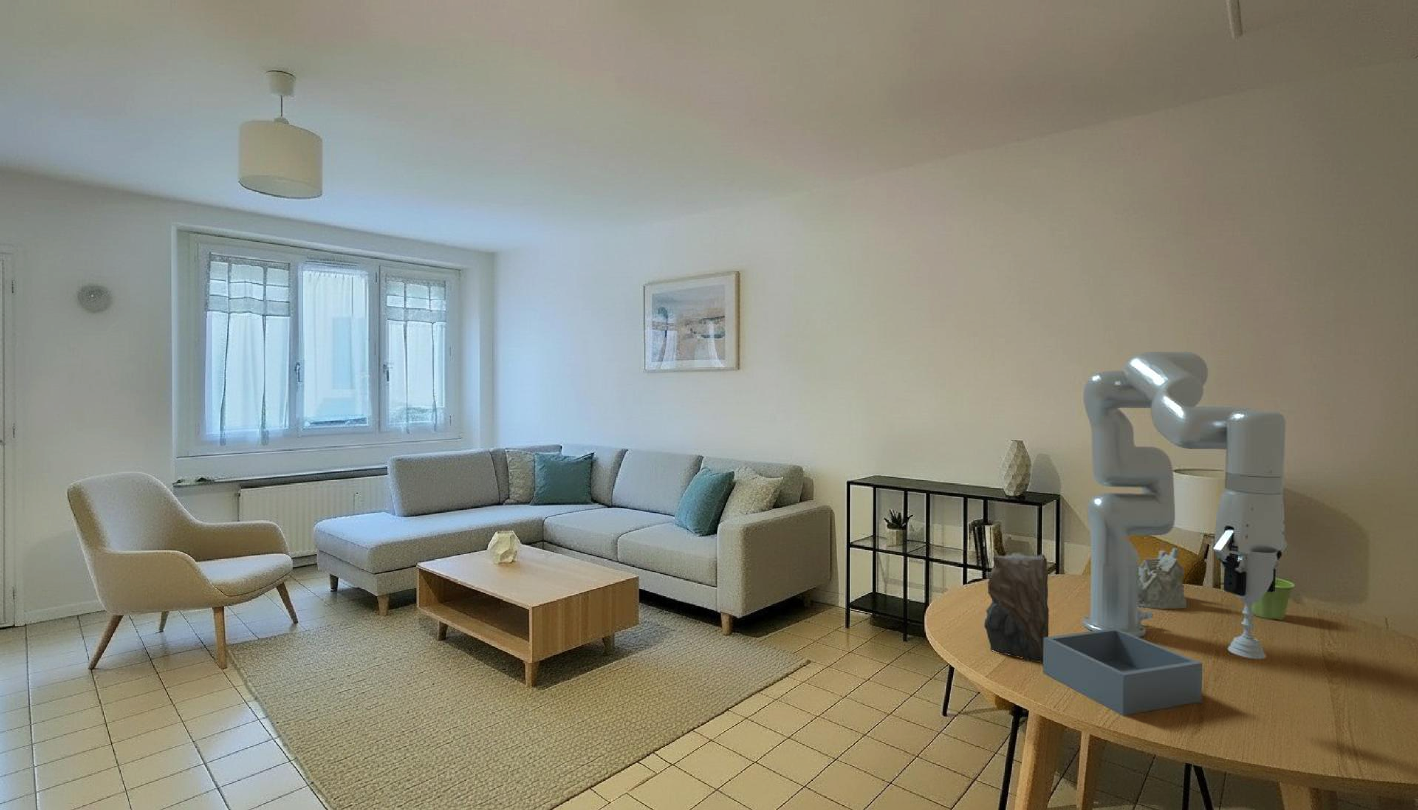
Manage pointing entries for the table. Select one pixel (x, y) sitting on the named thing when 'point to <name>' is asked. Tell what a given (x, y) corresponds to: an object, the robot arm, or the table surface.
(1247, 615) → the chalice
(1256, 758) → the table surface
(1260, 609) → the plant pot
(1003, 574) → the grey faceted rock
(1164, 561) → the ceramic cottage
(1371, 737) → the table surface
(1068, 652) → the bin
